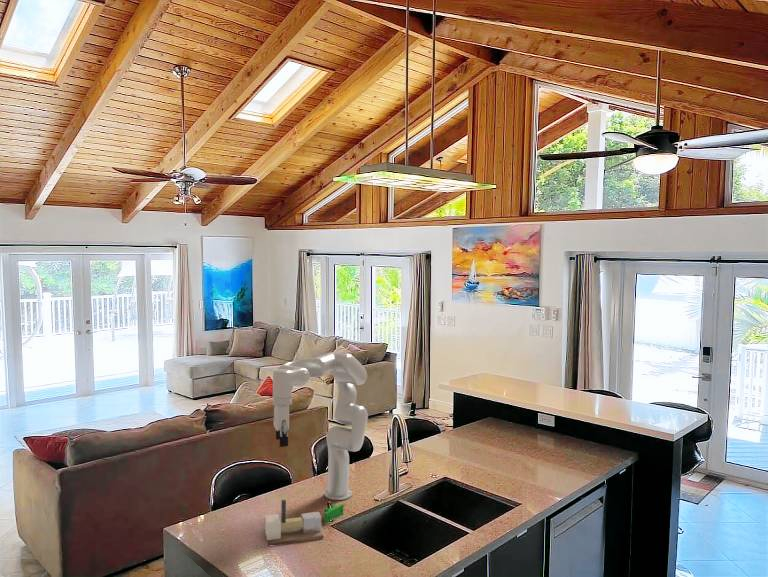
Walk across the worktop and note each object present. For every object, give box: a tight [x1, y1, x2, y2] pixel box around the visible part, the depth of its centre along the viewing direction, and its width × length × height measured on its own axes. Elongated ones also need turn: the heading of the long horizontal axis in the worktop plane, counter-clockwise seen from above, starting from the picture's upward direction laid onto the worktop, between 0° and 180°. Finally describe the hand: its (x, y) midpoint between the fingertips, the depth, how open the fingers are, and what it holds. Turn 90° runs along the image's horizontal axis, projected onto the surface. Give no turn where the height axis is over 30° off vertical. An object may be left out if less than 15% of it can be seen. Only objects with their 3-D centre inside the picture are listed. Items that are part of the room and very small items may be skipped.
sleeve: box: [300, 511, 322, 534], centre depth 227 cm, size 5×7×6 cm
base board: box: [263, 528, 324, 547], centre depth 225 cm, size 12×21×1 cm, turn 109°
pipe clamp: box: [323, 503, 344, 524], centre depth 241 cm, size 11×4×5 cm, turn 146°
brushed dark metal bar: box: [280, 499, 303, 531], centre depth 225 cm, size 3×13×11 cm, turn 109°
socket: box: [264, 513, 281, 541], centre depth 223 cm, size 7×5×6 cm
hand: (281, 442), depth 231 cm, fingers open, 9 cm apart
